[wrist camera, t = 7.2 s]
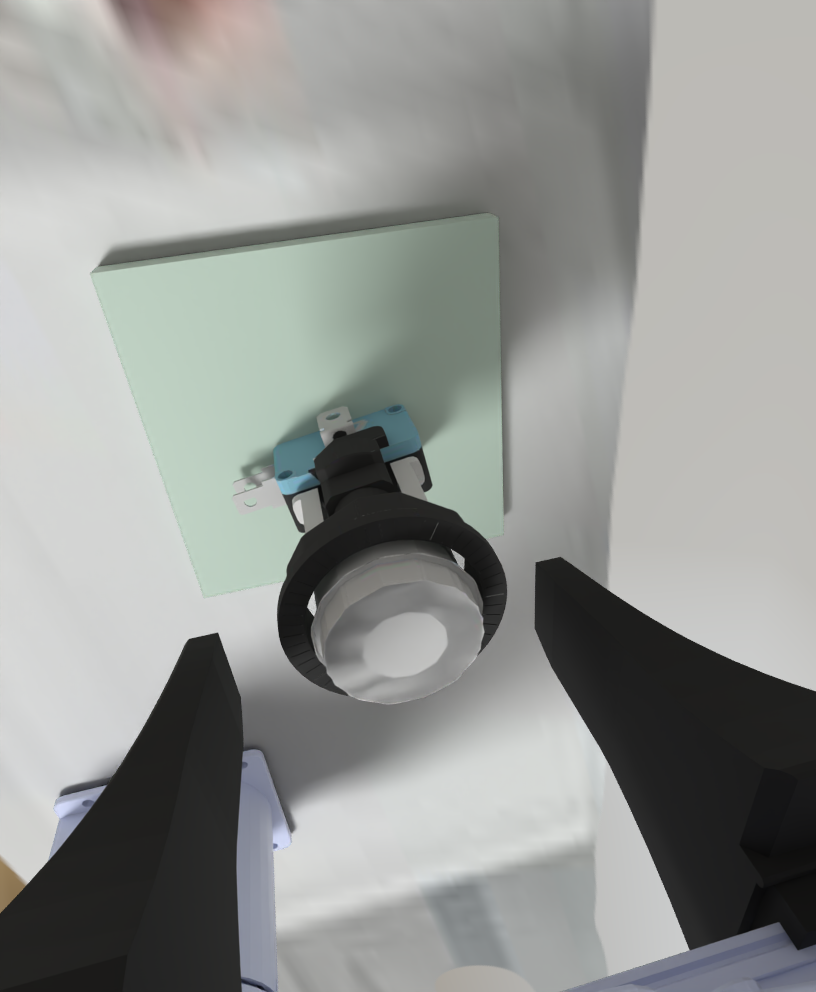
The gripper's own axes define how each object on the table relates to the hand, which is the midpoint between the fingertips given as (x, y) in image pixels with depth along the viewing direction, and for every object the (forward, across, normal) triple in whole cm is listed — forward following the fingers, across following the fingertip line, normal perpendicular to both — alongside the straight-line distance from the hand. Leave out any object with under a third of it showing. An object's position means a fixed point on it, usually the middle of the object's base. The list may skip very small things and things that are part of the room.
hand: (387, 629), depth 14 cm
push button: (+10, 0, 0) cm, 10 cm away
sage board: (+10, 0, -1) cm, 10 cm away
